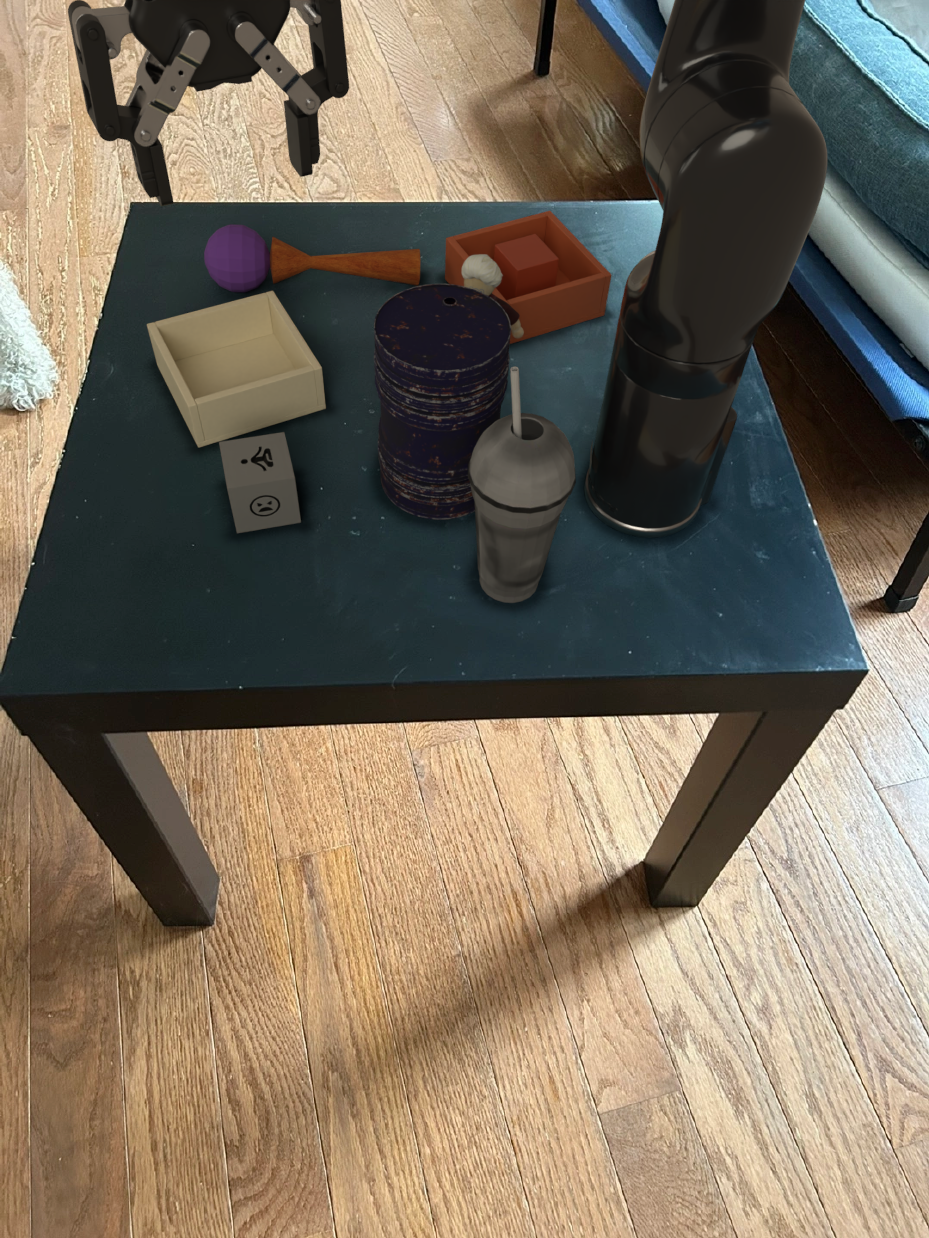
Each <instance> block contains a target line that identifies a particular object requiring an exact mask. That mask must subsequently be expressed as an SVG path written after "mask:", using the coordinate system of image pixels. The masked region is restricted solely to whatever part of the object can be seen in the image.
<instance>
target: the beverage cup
mask: <svg viewBox="0 0 929 1238" xmlns="http://www.w3.org/2000/svg"><path fill="white" fill-rule="evenodd" d="M509 369H510V389H511V411H512V413H511V414H508V415H505V416H503V417H500V419H499V420H497V421H495V422H494V423H493V424H492V425H491V426H489V427H488V428H487V429H486V430H485V431H484V432H483V433H482V435H481V436H480V438H479V440H478V442H477V444H476V446H475V447H474V450H473V453H472V457H471V459H470V461H469V464H468V478H469V481H470V486H471V490H472V495H473V498H474V501H475V511H474V519H475V537H476V539H475V540H476V555H477V556H476V557H477V570H478V575H479V584H480V586H481V589H482V590H483V591H484V593H485V594H486V595H487V596H489V597H490V598H491V599H493V600H495V601H498V602H500V603H501V602H502V603H507V604H508V603H509V604H515V603H519V602H523V601H525V600H527V599H529V598H531V597H532V595H533V594H535V592H536V591H537V588H538V586H539V582H540V580H541V578H542V575H543V573H544V571H545V566H546V564H547V560H548V557H549V554H550V550H551V548H552V543H553V540H554V537H555V535H556V530H557V527H558V524H559V521H560V517H561V514H562V511H563V510H564V508H565V505H566V504H567V502H568V499H569V497H570V496H571V494H572V493H573V490H574V488H575V486H576V483H577V481H576V480H577V476H576V472H577V471H576V465H575V455H574V454H575V453H574V451H573V448H572V446H571V443H570V441H569V439H568V437H567V435H566V434H565V432H563V431H562V429H561V428H560V427H558V425H557V424H555V423H554V422H553V421H551V420H550V419H548V418H546V417H544V416H542V415H540V414H539V415H538V414H535V413H529V412H522V411H521V391H520V389H521V388H520V369H519V367H518V366H511V367H510V368H509Z"/></svg>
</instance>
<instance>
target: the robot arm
mask: <svg viewBox="0 0 929 1238" xmlns="http://www.w3.org/2000/svg"><path fill="white" fill-rule="evenodd" d="M805 3H806V0H674V2H673V3H672V8H671V10H670V11H671V12H670V15H669V18H668V21H667V25H666V29H665V32H664V35H663V38H662V42H661V46H660V48H659V51H658V54H657V58H656V61H655V65H654V67H653V71H652V75H651V78H650V81H649V85H648V88H647V91H646V94H645V95H646V96H645V99H644V102H643V107H642V111H641V116H640V123H639V130H638V142H639V153H640V154H639V155H640V161H641V164H642V167H643V170H644V173H645V175H646V177H647V180H648V182H649V184H650V186H651V189H652V191H653V193H654V195H655V197H656V199H657V202H658V204H659V205H660V207H661V209H662V219H661V223H660V224H661V225H660V230H659V234H658V237H657V243H656V245H655V249H654V251H655V253H654V254H652V255H649V256H648V257H646V258H644V259H643V260H641V259H640V260H641V261H640V260H639V261H640V262H639V261H638V262H637V264H635V266H634V267H633V268H632V270H631V271H630V273H629V275H628V276H627V279H626V282H625V286H624V289H623V295H622V299H621V303H620V304H621V305H620V310H619V315H618V319H617V324H616V330H615V335H614V339H613V346H612V352H611V355H610V360H609V361H610V362H609V366H608V371H607V376H606V381H605V386H604V392H603V395H602V396H603V397H602V401H601V407H600V412H599V417H598V423H597V428H596V432H595V438H594V443H593V439H591V443H593V444H591V445H590V452H589V453H590V454H589V466H588V469H587V473H586V477H585V480H584V488H583V489H584V497H585V500H586V503H587V505H588V507H589V508H590V510H591V511H592V512H593V514H594V515H595V516H596V517H597V518H598V520H600V521H601V522H602V523H603V524H605V525H607V526H608V527H610V528H612V529H613V530H616V531H617V532H620V533H621V534H625V535H629V536H631V537H632V536H633V537H638V538H648V539H649V538H651V539H652V538H653V539H654V538H662V537H667V536H670V535H673V534H677V533H678V532H680V531H682V530H684V529H685V528H686V527H688V526H689V525H690V524H691V523H692V522H693V521H694V520H695V518H696V517H697V515H698V512H699V509H700V507H701V506H703V505H706V504H708V503H709V501H710V499H711V498H710V497H711V495H712V494H713V493H712V492H713V490H714V486H715V484H716V481H717V478H718V475H719V472H720V470H721V467H722V463H723V461H724V458H725V455H726V451H727V449H728V447H729V443H730V440H731V438H732V435H733V433H734V432H733V431H734V429H735V426H736V424H737V423H736V422H737V420H738V413H737V411H736V410H735V409H734V407H733V404H734V400H735V398H736V394H737V391H738V388H739V385H740V382H741V379H742V376H743V373H744V370H745V367H746V364H747V361H748V358H749V355H750V352H751V349H752V346H753V343H754V340H755V338H756V336H757V333H758V329H759V327H760V325H761V324H762V323H763V322H764V321H765V320H766V319H767V318H768V317H769V315H770V314H771V313H772V312H773V311H774V309H775V308H776V307H777V305H778V303H779V302H780V300H781V298H782V297H783V295H784V292H785V291H786V288H787V285H788V283H789V281H790V278H791V275H792V273H793V271H794V269H795V267H796V263H797V261H798V258H799V256H800V254H801V252H802V249H803V246H804V244H805V242H806V239H807V236H808V235H809V231H810V229H811V227H812V224H813V221H814V219H815V216H816V214H817V211H818V209H819V208H818V207H819V206H820V201H821V199H822V195H823V192H824V187H825V185H826V184H825V183H826V178H827V169H828V147H827V143H826V140H825V137H824V134H823V132H822V130H821V128H820V126H819V125H818V123H817V122H816V120H815V119H814V117H813V116H812V115H811V114H810V112H809V110H808V109H807V108H806V105H804V103H803V102H802V100H801V99H800V98H799V96H798V95H797V93H796V92H795V91H794V89H793V87H792V86H791V85H790V69H791V68H790V67H791V64H792V63H791V62H792V57H793V51H794V46H795V42H796V38H797V33H798V30H799V25H800V21H801V18H802V14H803V10H804V7H805ZM291 8H293V9H295V10H296V14H297V15H298V16H299V17H300V18H301V19H302V21H303V22H304V23H305V24H306V25H307V28H308V33H309V43H310V51H311V59H312V66H313V68H311V69H309V70H308V71H306V72H304V73H303V74H301V73H300V72H299V71H298V70H297V69H296V67H295V66H294V65H293V64H292V63H291V62H290V61H289V60H288V58H287V57H286V56H285V55H284V54H283V52H282V51H281V50H280V49H279V48H278V47H277V46H276V45H275V43H276V41H277V39H278V37H279V35H280V33H281V31H282V29H283V27H284V26H285V23H286V21H287V19H288V17H289V14H290V11H291ZM342 9H343V7H342V0H125V1H124V4H123V5H119V6H110V7H97V8H92V6H91V5H90V4H89V3H88V2H87V1H85V0H73V1H72V2H70V3H69V6H68V8H67V16H68V21H69V26H70V31H71V36H72V37H71V38H72V41H73V47H74V53H75V57H76V63H77V67H78V73H79V77H80V83H81V84H80V85H81V89H82V93H83V99H84V105H85V109H86V113H87V115H88V117H89V119H90V120H91V123H92V124H93V126H94V128H95V130H96V132H97V134H98V135H99V137H100V138H101V139H102V140H104V141H105V142H114V141H116V140H125V141H128V142H129V144H130V149H131V154H132V156H133V157H132V158H133V162H134V166H135V171H136V175H137V179H138V181H139V183H140V184H141V187H142V188H143V190H144V192H145V193H146V195H147V196H148V197H149V198H150V199H153V198H156V200H157V201H158V203H159V205H160V207H164V206H169V205H174V197H173V193H172V187H171V182H170V177H169V173H168V168H167V163H166V158H165V157H166V156H165V152H164V147H163V144H162V142H161V140H160V139H159V136H160V134H161V131H162V129H163V127H164V125H165V123H166V121H167V119H168V117H169V115H170V114H173V113H175V112H176V110H177V109H178V107H179V105H180V102H181V101H182V98H183V96H184V94H185V92H186V91H187V89H188V87H189V88H194V90H195V92H196V93H198V92H202V91H209V90H212V89H214V88H216V87H219V86H221V85H222V84H234V85H241V84H246V83H247V84H248V83H252V82H253V77H255V76H256V75H258V73H260V71H261V70H263V71H264V72H265V73H266V74H267V76H269V78H270V79H271V80H272V81H273V82H274V83H275V84H276V85H277V86H278V87H279V89H281V91H282V92H284V94H286V95H287V97H288V99H286V100H283V108H284V109H283V110H284V119H285V128H286V137H287V138H286V140H287V151H288V157H289V161H290V165H291V166H292V167H293V169H294V170H295V172H296V173H297V175H298V176H299V177H300V178H303V177H308V176H312V175H313V172H314V170H313V165H317V164H319V161H320V157H321V146H320V130H319V129H320V128H319V111H320V109H321V106H322V105H323V104H324V103H325V102H327V101H329V100H330V99H332V98H335V99H342V98H344V97H346V95H347V94H348V92H349V91H350V80H349V69H348V59H347V49H346V41H345V28H344V18H343V10H342ZM130 34H132V35H133V37H134V38H135V39H136V40H137V41H138V42H139V44H140V45H142V46H143V48H145V51H144V54H143V56H142V59H141V60H140V63H139V65H138V67H137V69H136V74H135V83H134V86H133V88H132V90H131V92H130V94H129V96H128V97H127V98H128V99H127V100H126V102H125V104H123V105H122V104H118V102H117V95H116V89H115V83H114V78H113V77H114V76H113V72H112V67H111V66H112V65H111V60H114V59H116V58H118V56H119V55H120V54H121V50H122V41H123V39H124V37H126V36H127V35H130Z"/></svg>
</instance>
